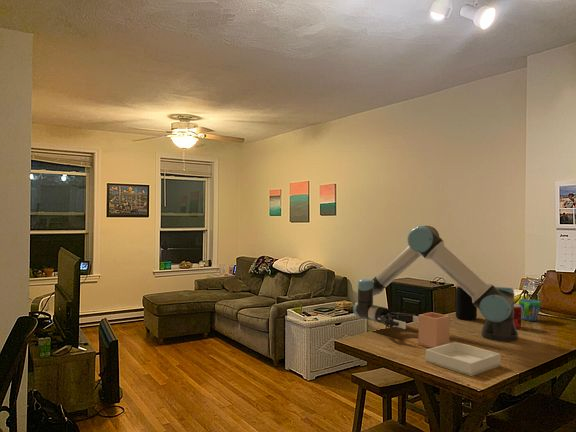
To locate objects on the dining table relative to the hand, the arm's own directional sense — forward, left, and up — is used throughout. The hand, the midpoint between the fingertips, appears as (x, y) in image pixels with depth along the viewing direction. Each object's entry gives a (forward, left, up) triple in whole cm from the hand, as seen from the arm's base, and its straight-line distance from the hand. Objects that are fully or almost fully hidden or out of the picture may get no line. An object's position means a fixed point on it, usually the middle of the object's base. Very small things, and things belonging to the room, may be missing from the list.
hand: (415, 323), depth 199 cm
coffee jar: (-27, -51, -8) cm, 58 cm away
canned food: (-47, -38, -8) cm, 61 cm away
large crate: (-16, +27, -7) cm, 33 cm away
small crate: (-7, +6, -7) cm, 12 cm away
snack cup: (-60, -56, -8) cm, 83 cm away
